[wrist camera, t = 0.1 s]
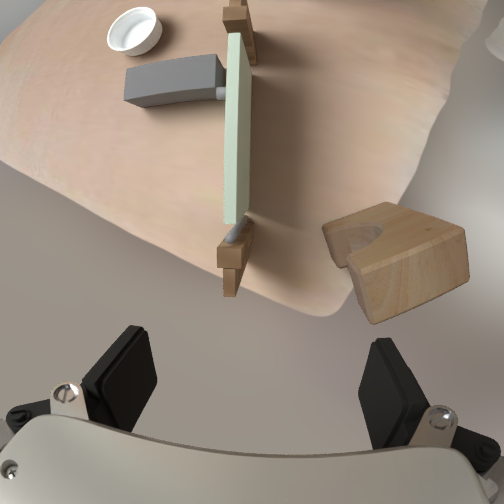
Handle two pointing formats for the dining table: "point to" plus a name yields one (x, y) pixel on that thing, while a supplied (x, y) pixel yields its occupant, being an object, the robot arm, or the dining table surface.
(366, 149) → the dining table surface
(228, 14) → the frame
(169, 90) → the grey block
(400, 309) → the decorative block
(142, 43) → the ramekin
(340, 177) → the dining table surface
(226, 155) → the door
